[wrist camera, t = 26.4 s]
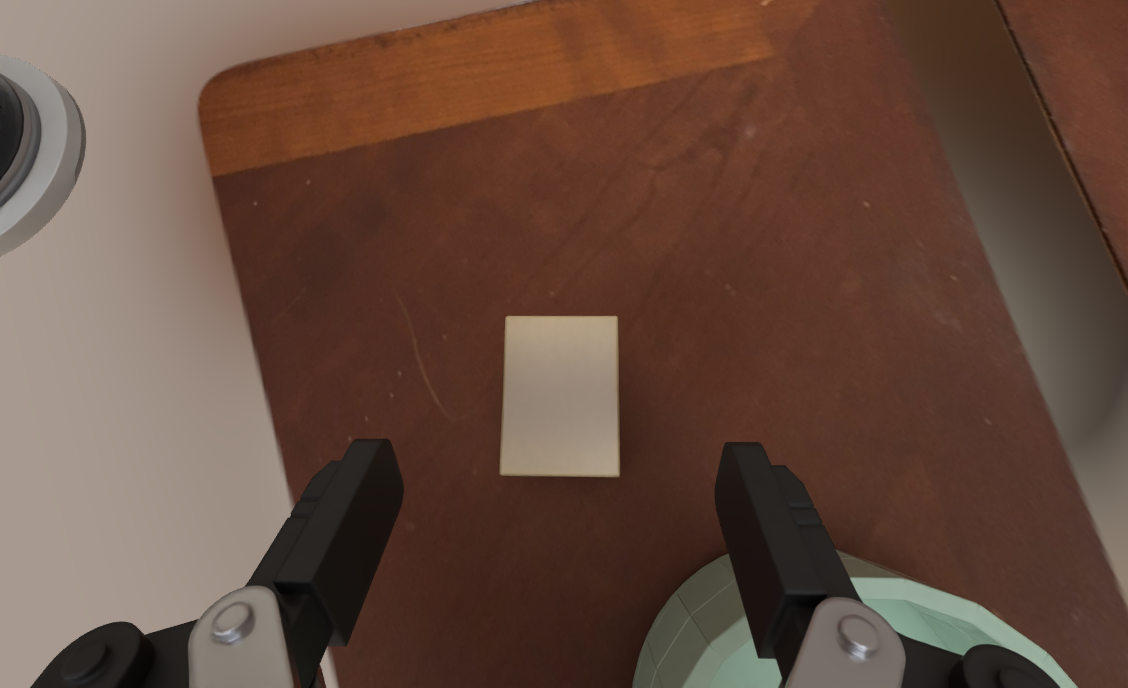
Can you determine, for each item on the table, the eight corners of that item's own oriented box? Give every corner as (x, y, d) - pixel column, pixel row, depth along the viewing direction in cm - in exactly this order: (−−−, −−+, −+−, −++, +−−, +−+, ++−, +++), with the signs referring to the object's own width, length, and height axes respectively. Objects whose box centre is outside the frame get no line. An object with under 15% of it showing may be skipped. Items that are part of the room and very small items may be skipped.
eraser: (616, 473, 20) (636, 489, 12) (522, 471, 20) (483, 487, 12) (614, 357, 21) (632, 304, 13) (525, 356, 21) (491, 305, 14)
